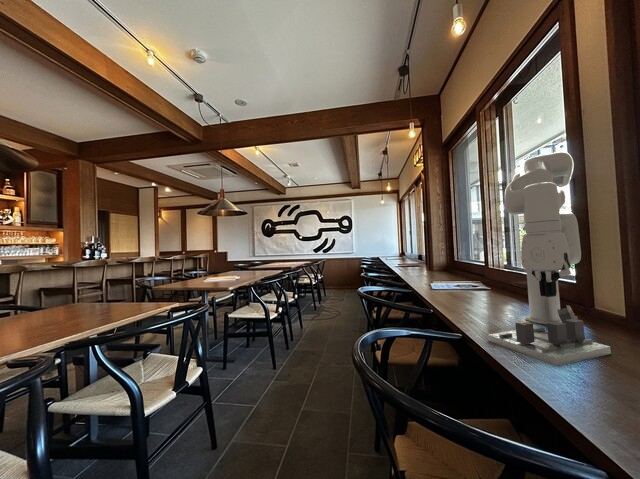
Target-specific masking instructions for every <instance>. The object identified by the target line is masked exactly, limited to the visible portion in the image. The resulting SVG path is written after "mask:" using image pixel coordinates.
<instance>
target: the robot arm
mask: <svg viewBox="0 0 640 479" xmlns="http://www.w3.org/2000/svg"><path fill="white" fill-rule="evenodd" d="M573 172H574V160H573V157H572V156H571V154H570V153H569V152H567V151H556V152H552V153H547V154H542V155H536V156H532V157H529V158H527V159H525V160H524V161H523V162H522V163H521V165H520V167H519V172H517V173H516V174H514V175H513V178H512V181H511V182H510V183H509V182H508V184H507V186H506V188H505V191H504V207H505V210H506V212H507V213H508V214H511V215H514V216H516V215H517V216H518V215H523V223H524V226H522V230H523V231H524V232H525V234H523V236H522V239H521V249H520V250H521V251H520V252H521V254H520V255H521V256H520V258H521V268H523V269H524V271H525V273H526V280H527V281H526V282H527V294H528V306H529V309H528V310H529V314H527V315H525V320H526V321H528V322H530V323H533V324H538V325H547V323H550V322H560V323H562V321H561V319H560V317H559V315H558V309H561V302H560V301H561V300H560V292H559V280H560V278H562V277H565V276H570V275H571V274H572V273H571V270H570V269H571V266H572V265H576V264H578V263H580V261H581V259H582V250H581V249H582V248H581V241H580V232H579V230H580V229H579V222H578V219H577V217H576V215H575V213H574V212H571V211H560V209H561V208H562V207H563V206H564V205H565V203H566V194H565V190H563V189H562V187H566V186H567V185H569V184H570V181H571V179H572V175H573Z"/></svg>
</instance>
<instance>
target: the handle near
mask: <svg viewBox="0 0 640 479" xmlns="http://www.w3.org/2000/svg"><path fill="white" fill-rule="evenodd" d="M565 324H566V332H567V339H569V340H573V341H579V340H584V339H586V338H585V322H584V320H582V319H578V320H577V319H569V320H565Z"/></svg>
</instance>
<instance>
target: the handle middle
mask: <svg viewBox="0 0 640 479" xmlns="http://www.w3.org/2000/svg"><path fill="white" fill-rule="evenodd" d="M546 326H547V329H546V330H548V341H549V342H550V343H554V344H557V345H560V344H563V343H567V332H566V324H565V323H560V322H550V323H547V324H546Z"/></svg>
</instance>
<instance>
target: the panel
mask: <svg viewBox="0 0 640 479" xmlns="http://www.w3.org/2000/svg"><path fill="white" fill-rule="evenodd" d="M533 328H534V341H535V342H533V343H528V344H524V343H521V342H518V341H517V336H516V329H515V330H514V329H513V330H508V331H502V332H501V331H500V332H497V333H496V332H495V333H491V334H487V340H488V342H490V341H491V343H492V344H495V345H499V346H502V347H504V348H507V349H511V350H513V351H516V352H518V353H521V354H524V355H526V356H529V357H532V358H535V359H538V360H540V361H543V362H546V363H548V364H551V365H553V366H557V367H558V366H563V365H567V364H572V363H576V362H580V361H585V360H590V359H594V358H600V357H603V356H607V355H611V354H612V352H611V346H609V345H606V344H602V343H598V342H594V341H593V339H592V338H585V339H584V340H579V341H573V340H569V339H567V343H563V344H560V345H557V344H554V343H550V342H549V341H548V329H546V327H544V326H539V327H536V326H533Z"/></svg>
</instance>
